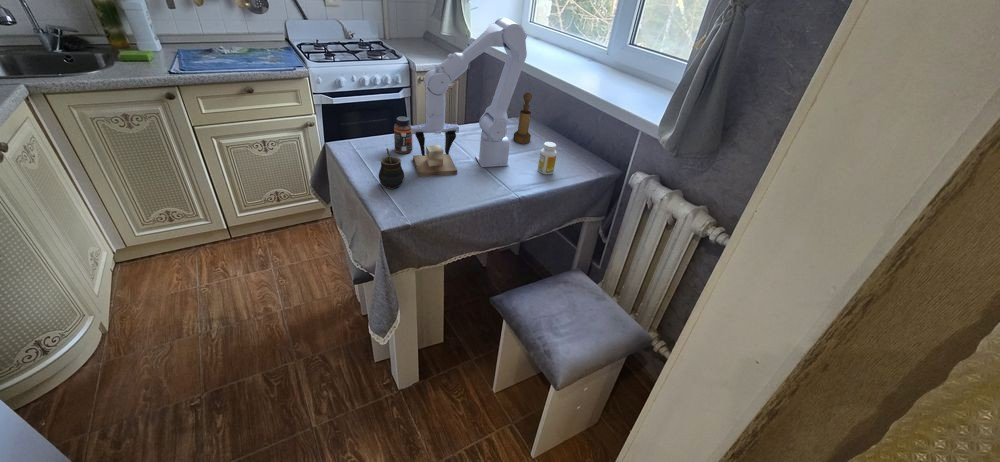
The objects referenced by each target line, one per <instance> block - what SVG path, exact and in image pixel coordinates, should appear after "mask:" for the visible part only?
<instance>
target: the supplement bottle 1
mask: <svg viewBox="0 0 1000 462" xmlns="http://www.w3.org/2000/svg"><path fill="white" fill-rule="evenodd" d="M411 126H412V124H411V123H410V118H409V117H407V116H398V117H396V123H395V124H394V125H393V136H394V137H393V138H394V139H393V140H394V141H393V143H394V151H395V152H396V153H399V154H404V155H405V154H409V153H411V152H413V134H412V133H411Z"/></svg>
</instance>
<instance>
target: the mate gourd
mask: <svg viewBox="0 0 1000 462" xmlns="http://www.w3.org/2000/svg"><path fill="white" fill-rule="evenodd" d="M385 149H386V154H387V156H385V157H383V158H381V160H380V168H379V170H378V171H379V172H378V180H379V183H380V184H381V186H382V187H384V188H387V189H396V188H399V186H401V185H402V184H403V183H404V179H405V172H404V169H403V167H402V163H401V162H402V161H401V159H400V158H399V157H396V156H391V154H390V151H389V148H385Z"/></svg>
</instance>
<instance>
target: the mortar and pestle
mask: <svg viewBox="0 0 1000 462" xmlns="http://www.w3.org/2000/svg"><path fill="white" fill-rule="evenodd" d="M522 98H523V100H524V104H523V109H522V110H520V111H519V118H518V119H519V120H518V125H517V126H518V127H517V130H516V131H515V132H514V133H513V137H512V139H513V141H514V142H516V143H518V144H524V145H525V144H526V145H527V144H529V143H530V142H531V137H532V135H531V134H530V132H529V129H530V128H529V127H530V121H531V117H532V116H531V114H532V112H531V111H529V110H530V107H531V106H530V104H529V103H530V101H531V100H532V98H533V95H532V93H531V92H525V93H524V94H523V97H522Z"/></svg>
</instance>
